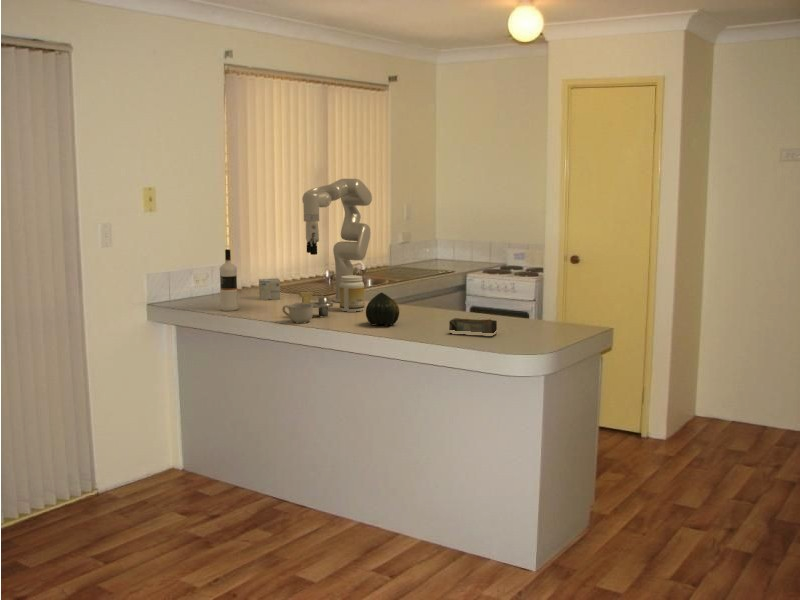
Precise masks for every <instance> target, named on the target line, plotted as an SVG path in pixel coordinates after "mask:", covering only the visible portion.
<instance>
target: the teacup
mask: <svg viewBox="0 0 800 600" xmlns="http://www.w3.org/2000/svg"><path fill="white" fill-rule="evenodd" d="M286 309H288V311H289V312H287V311H286ZM313 309H314V308H313V305H312V304H308V303H302V302H294V303H291V304H289V305H288V304H286V305H283V306H282V309H281V310H282V312H283V314H284V315H286V316H287V317H288V318H289V319H290V320H291V321H293V323H295V322H298V323H297V324H304V323H303V322H307V323H309V322H310V321H311V320H312V318H313V315H314V313H313V311H314V310H313ZM308 321H309V322H308Z"/></svg>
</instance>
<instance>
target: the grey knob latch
mask: <svg viewBox="0 0 800 600" xmlns="http://www.w3.org/2000/svg"><path fill="white" fill-rule="evenodd" d="M310 304H312V305H313V309H318V317H319V316H328V317H329V308H332V307H333V306H334V303H333V301H332V302H331V301H329V298H328V296H319V297H318V301H313V302H312V301H310Z"/></svg>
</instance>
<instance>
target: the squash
mask: <svg viewBox="0 0 800 600" xmlns="http://www.w3.org/2000/svg"><path fill="white" fill-rule="evenodd" d="M365 308H366V309H365V317H366V320H367V321H368V323H369V324H370V325H372V324H379V325H384V326H385V325H390V326H392V325H394V324H396V323H397V322H398V320H399V317H400V308H399V305H398V303H397V302H396V301H395V300H394V299H393V298H391V297H390V296H388V295H387V294H386V293H383V292H379V293H378V294H376V295H375V296H374V297H373V298H372V299H370V301H369V302H368V304H367V305H366V307H365ZM391 324H392V325H391Z"/></svg>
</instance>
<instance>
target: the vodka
mask: <svg viewBox="0 0 800 600" xmlns="http://www.w3.org/2000/svg"><path fill="white" fill-rule="evenodd" d="M224 253H225V255H224V256H225V258H224V259H225V262H224V263H223V264H221V265H220V267H219V276H220V277H219V280H220V281H219V282H220V290H219V291H220V303H219V310H221V311H223V312H235V310H236V311H238V310H239V307H240V305H239V301H238V300H239V299H238V288H237V287H238V284H237V283H238V279H237V278H238V277H237V276H238V274H237V273H238V268H237V266H236V265H235V264H233V263H232V261H231V258H232V257H231V255H232V254H231V249H229V248H228V249H224Z"/></svg>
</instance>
